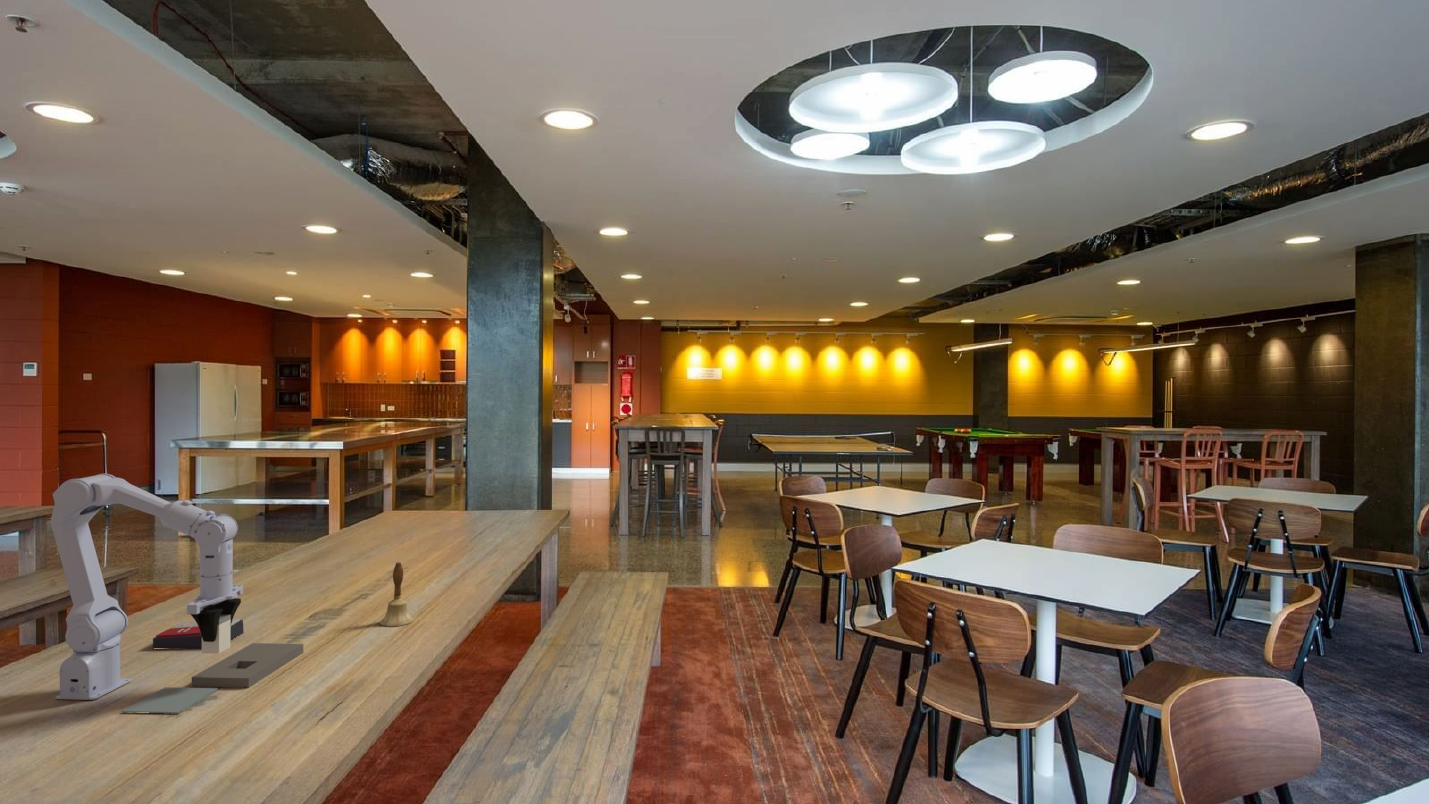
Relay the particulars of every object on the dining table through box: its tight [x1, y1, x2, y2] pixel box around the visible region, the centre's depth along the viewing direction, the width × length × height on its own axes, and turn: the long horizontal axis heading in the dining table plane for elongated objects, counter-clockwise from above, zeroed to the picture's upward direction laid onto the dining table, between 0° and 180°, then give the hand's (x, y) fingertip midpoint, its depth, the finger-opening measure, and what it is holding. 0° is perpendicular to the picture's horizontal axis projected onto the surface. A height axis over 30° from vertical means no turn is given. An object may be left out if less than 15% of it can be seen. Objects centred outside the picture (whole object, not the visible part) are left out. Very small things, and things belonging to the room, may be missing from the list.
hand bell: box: [379, 561, 414, 628], centre depth 195 cm, size 8×8×16 cm
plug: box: [201, 615, 231, 654], centre depth 153 cm, size 4×4×7 cm
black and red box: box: [152, 618, 245, 649], centre depth 178 cm, size 11×4×15 cm
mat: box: [120, 686, 219, 715], centre depth 145 cm, size 11×11×1 cm
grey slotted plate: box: [191, 642, 304, 689], centre depth 162 cm, size 20×12×2 cm, turn 0°
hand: (216, 637), depth 153 cm, fingers closed on plug, 4 cm apart
